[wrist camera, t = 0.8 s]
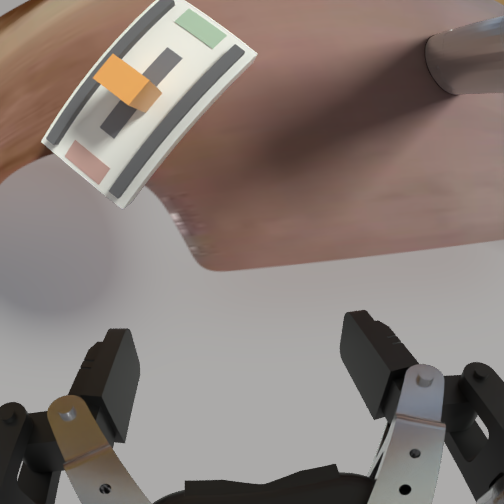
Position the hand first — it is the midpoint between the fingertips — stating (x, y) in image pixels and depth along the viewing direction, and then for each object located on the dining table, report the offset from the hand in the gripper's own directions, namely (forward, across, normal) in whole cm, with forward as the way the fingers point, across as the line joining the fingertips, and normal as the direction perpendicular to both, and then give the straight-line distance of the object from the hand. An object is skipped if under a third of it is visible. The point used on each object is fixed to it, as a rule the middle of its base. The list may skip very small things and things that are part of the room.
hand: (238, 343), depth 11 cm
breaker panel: (+24, +8, -12) cm, 28 cm away
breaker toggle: (+20, +7, -12) cm, 25 cm away
